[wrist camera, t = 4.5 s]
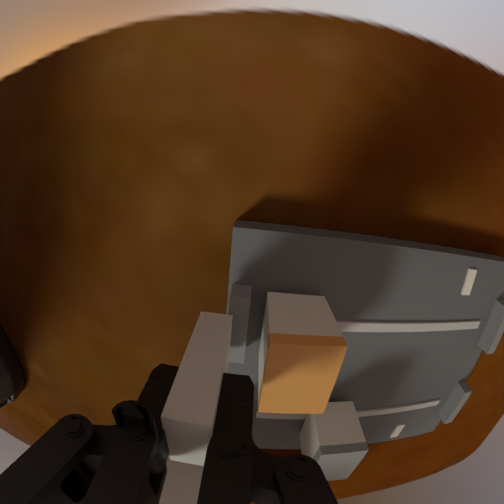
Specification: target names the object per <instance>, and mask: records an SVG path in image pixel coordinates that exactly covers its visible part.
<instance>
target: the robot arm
mask: <svg viewBox="0 0 504 504" xmlns="http://www.w3.org/2000/svg"><path fill="white" fill-rule="evenodd" d="M232 318H233V315H226V314H218V313H210V312H202V311H201V313H200V316H199V318H198V321H197V323H196V326H195V328H194V331H193V333H192V336H191V338H190V341H189V343H188V346H187V349H186V351H185V354H184V356H183V359H182V361H181V364H180V367H177V366H171V365H166V364H160V365H159V366H157V367H156V368H155V369H153V370H152V372H151V374H150V376H149V378H148V381H147V382H146V384H145V386H144V389H143V390H142V392H141V395H140V397H139V399H138V401H133V400H129V401H123V402H121V403H119V404H117V405H115V407H114V408H113V409H112V413H113V416H114V419H115V421H116V424H117V425H110V426H106V425H92V424H91V422H90V421H89V420H88V419H87V418H86V417H84V416H82V415H80V414H70V415H66V416H65V417H63V418H61V419H60V420H59V421H58V422H57V423H56V424H55V425H54V426H53V427H51V428H50V429H49V430H48V431H47V432H46V433H45V434H44V435H43V436H42V437H41V438H40V439H38V440H37V441H36V442H35V443H34V444H33V445H32V446H31V447H30V448H29V449H28V450H27V451H25V452H24V453H23V454H22V455H21V456H20V457H19V458H18V459H17V460H16V461H15V462H14V463H12V464H11V465H10V466H9V467H8V468H7V469H6V470H5V471H4V472H3V473H2V474H1V475H0V504H159V501H160V497H161V493H162V489H163V486H164V482H165V478H166V474H167V466H166V462H167V459H168V455H169V457H170V460H174V461H178V462H183V463H189V464H194V465H201V466H204V467H203V473H202V478H201V484H200V489H199V495H198V500H197V504H250V502H253V503H256V504H338V502H337V500H336V498H335V496H334V494H333V492H332V490H331V488H330V486H329V484H328V482H327V480H326V477H325V475H324V473H323V471H322V469H321V467H320V465H319V464H318V463H317V461H316V460H314V459H313V458H311V457H309V456H306V455H302V454H292V455H289V456H287V457H284V458H280V457H277V456H274V455H270V454H268V453H265V452H263V451H262V450H261V449H259V448H258V447H257V446H256V444H255V443H254V441H253V437H252V425H253V401H254V384H253V382H252V380H251V378H250V376H249V375H239V374H230V373H227V371H228V365H229V357H230V344H231V331H232ZM24 386H25V382H24V376H23V373H22V370H21V367H20V364H19V362H18V360H17V357H16V355H15V353H14V351H13V349H12V347H11V345H10V344H9V342H8V340H7V338H6V336H5V335H4V333H3V331H2V330H1V328H0V407H2V406H4V405H5V404H7V403H11V402H13V401H14V400H16V398H17V397H18V396H19V395H20V394H21V392H22V391H23V390H24Z"/></svg>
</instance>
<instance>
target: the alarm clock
mask: <svg viewBox="0 0 504 504" xmlns="http://www.w3.org/2000/svg"><path fill="white" fill-rule="evenodd" d="M166 466H167V474H166V478H165V482H164V486H163V489H162V493H161V497H160V501H159V504H197V500H198V495H199V489H200V484H201V478H202V473H203V467H204V466H201V465H194V464H189V463H183V462H178V461H174V460H170V457H169V455H168V459H167V462H166Z"/></svg>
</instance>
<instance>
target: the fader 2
mask: <svg viewBox="0 0 504 504" xmlns="http://www.w3.org/2000/svg"><path fill="white" fill-rule="evenodd" d="M299 436H300V444H301V453H302V455H306V456H309V457H311V458H313V459H314V460H316V461H317V463H318V464H319V465H320V467H321V469H322V471H323V473H324V475H325V477H326V480H327V481H331V480H340V479H347V478H348V477H349V475H350V474H351V473H352V472H353V470H354V469H355V468H356V467H357V465H358V464H359V463H360V461H361V460H362V459H363V457H364V456H365V455H366V453H367V452H368V450H369V449H368V446H367V443H366V440H365V437H364V434H363V431H362V428H361V425H360V422H359V419H358V416H357V413H356V410H355V407H354V404H353V401H345V402H328V403H327V405H326V408H325V410H324V412H323V414H307V416H306V419H305V422H304V424H303V427H302V430H301V432H300V435H299Z"/></svg>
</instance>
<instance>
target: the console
mask: <svg viewBox="0 0 504 504" xmlns="http://www.w3.org/2000/svg"><path fill="white" fill-rule="evenodd" d="M267 292H278V293H290V294H302V295H315V296H325V298H326V300H327V302H328V304H329V307H330V309H331V311H332V313H333V315H334V317H335V319H336V322H337V324H338V326H339V328H340V330H341V332H342V335H343V337H344V339H345V341H346V343H347V346H348V347H347V350H346V353H345V356H344V359H343V362H342V365H341V368H340V371H339V374H338V376H337V379H336V382H335V385H334V387H333V390H332V392H331V395H330V398H329V400H328V402H345V401H353V404H354V407H355V410H356V413H357V416H358V419H359V422H360V425H361V428H362V431H363V434H364V437H365V440H366V443H367V444H372V443H378V442H384V441H390V440H396V439H401V438H405V437H410V436H415V435H419V434H423V433H427V432H431V431H433V430H434V429H435V427H436V426H437V425H438V423H439V422H440V421H441V420H442V421H443V423H444V424H447V423H450V422H452V421H453V419H454V418H455V416H456V415H457V414H458V412H459V411H460V409H461V408H462V406H463V405H464V403H465V402H466V400H467V399H468V397H469V396H470V394H471V392H472V390H471V389H470V387H469V386H468V385H467V383H466V380H467V378H468V377H469V375H470V373H471V371H472V369H473V367H474V366H475V364H476V362H477V360H478V358H479V356H480V354H481V352H482V350H483V351H484V352H485V353H486V354H491V353H494V351H495V349H496V347H497V345H498V343H499V341H500V339H501V336H502V334H503V332H504V301H503V300H504V258H503V257H501V256H497V255H492V254H486V253H481V252H475V251H469V250H464V249H458V248H452V247H446V246H439V245H433V244H427V243H420V242H414V241H407V240H400V239H394V238H387V237H379V236H372V235H365V234H357V233H350V232H342V231H334V230H326V229H318V228H309V227H301V226H292V225H283V224H273V223H264V222H254V221H244V220H236V222H235V224H234V226H233V235H232V247H231V260H230V273H229V286H228V300H227V315H233V318H232V331H231V344H230V357H229V365H228V371H227V373H230V374H239V375H249V376H250V378H251V380H252V382H253V384H254V401H253V425H252V437H253V441H254V443H255V444H256V446H257V447H258V448H259V449H301V444H300V436H299V435H300V432H301V430H302V427H303V424H304V422H305V419H306V416H307V414H285V413H263V412H258V369H259V348H260V341H261V334H262V327H263V319H264V312H265V305H266V297H267Z"/></svg>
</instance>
